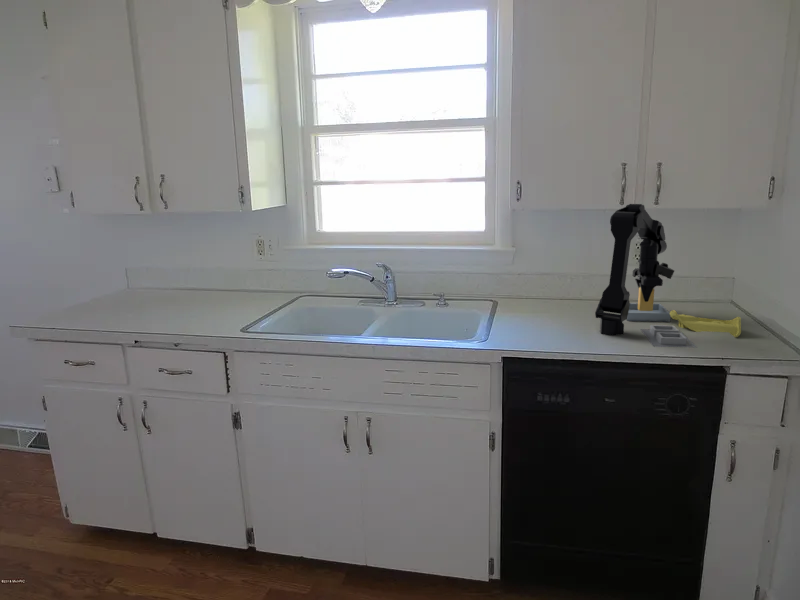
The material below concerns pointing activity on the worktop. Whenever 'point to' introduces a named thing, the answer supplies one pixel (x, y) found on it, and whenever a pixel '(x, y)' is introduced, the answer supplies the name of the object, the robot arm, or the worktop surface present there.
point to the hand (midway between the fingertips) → (645, 300)
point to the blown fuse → (645, 305)
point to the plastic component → (708, 324)
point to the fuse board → (667, 336)
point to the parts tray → (648, 314)
